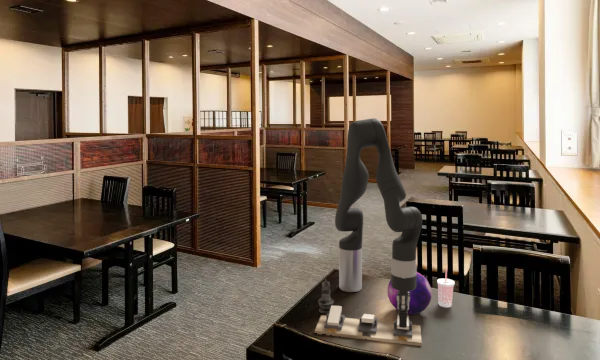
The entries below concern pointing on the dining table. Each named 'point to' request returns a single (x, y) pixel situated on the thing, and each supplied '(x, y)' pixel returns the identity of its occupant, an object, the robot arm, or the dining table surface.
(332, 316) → the block
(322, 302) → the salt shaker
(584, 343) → the dining table surface
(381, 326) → the switch board
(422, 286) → the decorative orb
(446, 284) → the beverage cup
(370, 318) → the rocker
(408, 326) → the block
